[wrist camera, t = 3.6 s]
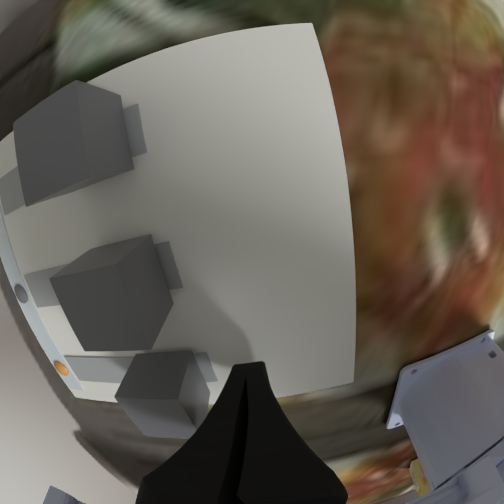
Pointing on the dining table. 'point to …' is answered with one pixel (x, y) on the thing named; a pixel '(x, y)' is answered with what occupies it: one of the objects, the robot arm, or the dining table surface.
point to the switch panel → (210, 216)
